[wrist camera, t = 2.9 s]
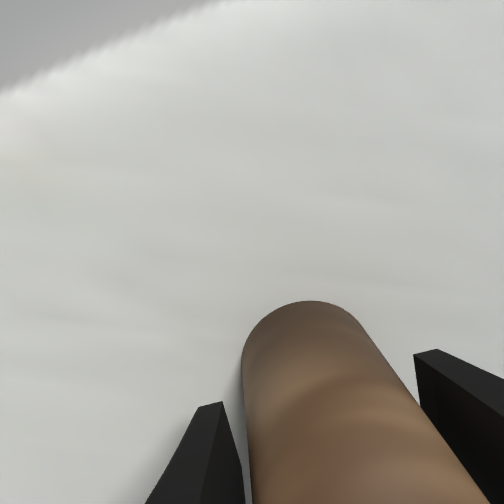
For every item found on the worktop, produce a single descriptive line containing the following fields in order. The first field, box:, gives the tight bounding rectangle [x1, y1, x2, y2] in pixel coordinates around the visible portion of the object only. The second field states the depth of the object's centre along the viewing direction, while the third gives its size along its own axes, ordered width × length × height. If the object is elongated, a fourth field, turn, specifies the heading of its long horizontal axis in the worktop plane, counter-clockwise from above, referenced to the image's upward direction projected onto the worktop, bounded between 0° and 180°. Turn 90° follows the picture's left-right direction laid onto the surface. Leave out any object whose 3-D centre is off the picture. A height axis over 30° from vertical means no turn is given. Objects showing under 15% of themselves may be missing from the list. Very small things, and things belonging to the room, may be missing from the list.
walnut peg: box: [241, 301, 490, 504], centre depth 9 cm, size 4×4×8 cm
